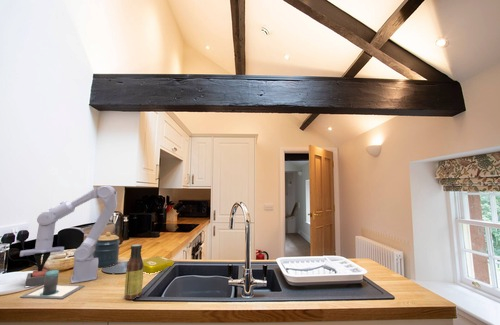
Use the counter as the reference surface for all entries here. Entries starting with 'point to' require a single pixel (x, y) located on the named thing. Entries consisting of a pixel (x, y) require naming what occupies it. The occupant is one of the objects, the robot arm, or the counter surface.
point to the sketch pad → (60, 293)
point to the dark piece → (50, 282)
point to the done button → (39, 273)
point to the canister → (107, 250)
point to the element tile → (156, 264)
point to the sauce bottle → (134, 273)
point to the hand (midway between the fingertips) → (40, 270)
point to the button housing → (34, 280)
